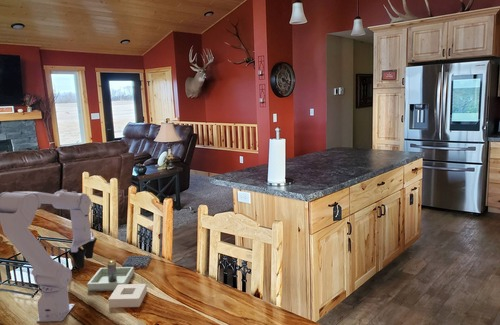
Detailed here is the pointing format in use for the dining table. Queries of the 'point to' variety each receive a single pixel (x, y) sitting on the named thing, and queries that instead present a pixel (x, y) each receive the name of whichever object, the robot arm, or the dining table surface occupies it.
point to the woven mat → (137, 261)
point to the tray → (101, 279)
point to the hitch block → (127, 295)
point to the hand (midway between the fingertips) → (85, 262)
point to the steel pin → (112, 270)
